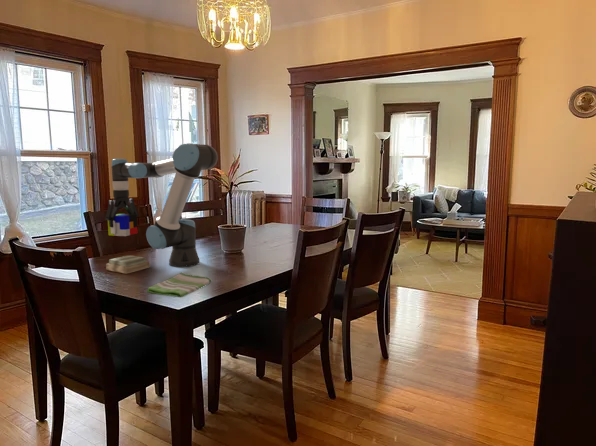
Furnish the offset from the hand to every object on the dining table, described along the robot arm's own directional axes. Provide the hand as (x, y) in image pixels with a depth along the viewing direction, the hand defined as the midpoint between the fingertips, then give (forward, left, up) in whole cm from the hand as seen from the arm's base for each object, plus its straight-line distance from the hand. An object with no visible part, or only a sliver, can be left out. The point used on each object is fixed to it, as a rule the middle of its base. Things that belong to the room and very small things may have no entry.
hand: (123, 231), depth 226 cm
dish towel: (-57, +20, -17) cm, 63 cm away
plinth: (-13, +9, -16) cm, 22 cm away
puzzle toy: (0, 0, -1) cm, 1 cm away
